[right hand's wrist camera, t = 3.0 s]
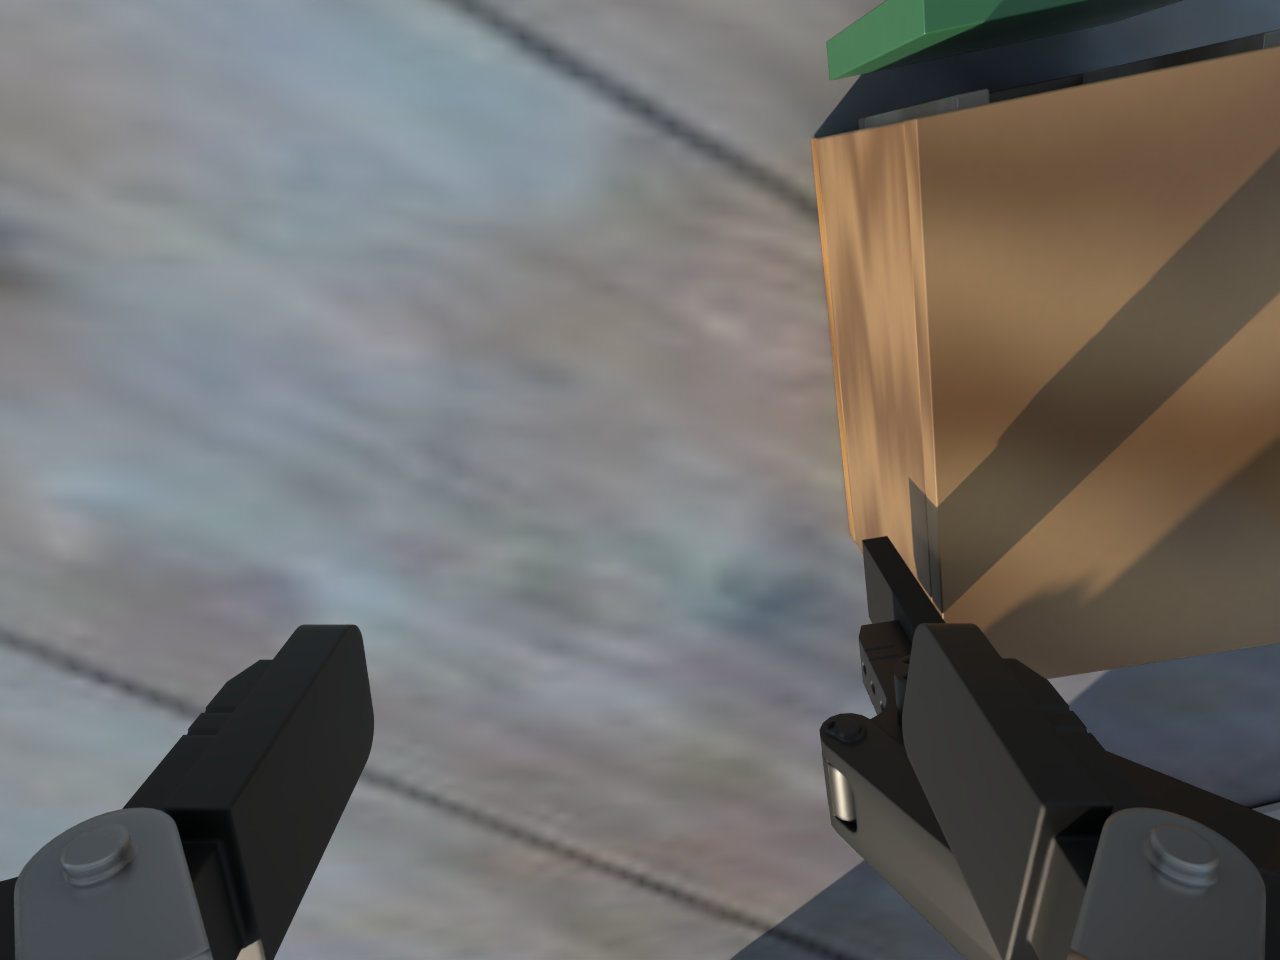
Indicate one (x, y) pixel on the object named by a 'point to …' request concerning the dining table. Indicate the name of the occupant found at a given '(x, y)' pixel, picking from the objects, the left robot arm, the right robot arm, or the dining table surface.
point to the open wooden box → (1069, 360)
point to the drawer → (993, 42)
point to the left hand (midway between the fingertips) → (1105, 539)
